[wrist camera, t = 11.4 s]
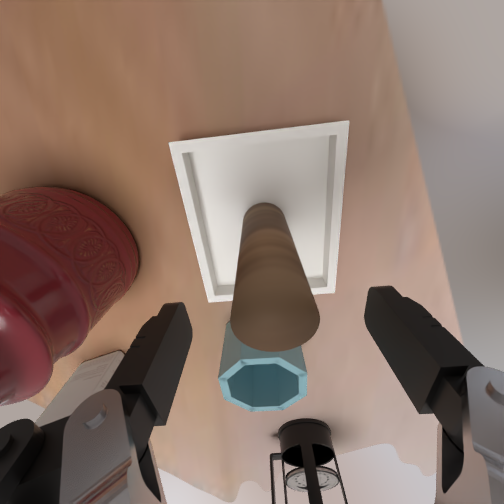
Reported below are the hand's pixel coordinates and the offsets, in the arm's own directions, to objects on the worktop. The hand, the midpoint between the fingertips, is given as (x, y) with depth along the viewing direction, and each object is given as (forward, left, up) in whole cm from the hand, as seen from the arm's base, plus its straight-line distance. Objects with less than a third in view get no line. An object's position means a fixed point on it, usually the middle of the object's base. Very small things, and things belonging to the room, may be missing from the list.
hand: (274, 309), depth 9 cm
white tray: (0, 0, -13) cm, 13 cm away
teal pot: (+15, -1, -13) cm, 20 cm away
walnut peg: (0, 0, -12) cm, 12 cm away
